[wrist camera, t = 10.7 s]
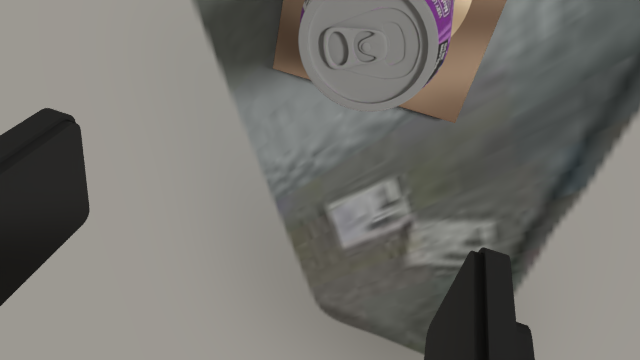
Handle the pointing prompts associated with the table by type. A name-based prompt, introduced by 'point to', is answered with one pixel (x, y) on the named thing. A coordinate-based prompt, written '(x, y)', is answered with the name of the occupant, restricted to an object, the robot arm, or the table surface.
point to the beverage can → (373, 48)
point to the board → (453, 76)
